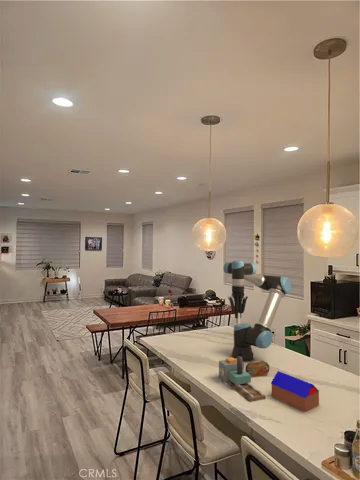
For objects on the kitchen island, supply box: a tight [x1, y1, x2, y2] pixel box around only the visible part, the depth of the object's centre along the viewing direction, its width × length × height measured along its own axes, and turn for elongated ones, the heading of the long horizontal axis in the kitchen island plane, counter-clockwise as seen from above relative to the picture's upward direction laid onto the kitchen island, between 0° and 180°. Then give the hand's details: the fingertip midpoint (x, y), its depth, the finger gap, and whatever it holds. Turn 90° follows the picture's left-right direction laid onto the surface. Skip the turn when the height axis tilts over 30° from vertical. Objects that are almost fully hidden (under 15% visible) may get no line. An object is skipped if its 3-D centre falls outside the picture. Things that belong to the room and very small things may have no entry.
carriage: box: [229, 356, 252, 385], centre depth 174 cm, size 8×9×13 cm
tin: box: [244, 360, 270, 378], centre depth 188 cm, size 15×3×8 cm, turn 105°
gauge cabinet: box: [218, 358, 245, 384], centre depth 183 cm, size 12×8×10 cm, turn 110°
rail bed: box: [228, 380, 267, 403], centre depth 168 cm, size 22×9×2 cm, turn 20°
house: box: [270, 370, 320, 413], centre depth 158 cm, size 12×20×12 cm, turn 35°
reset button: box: [225, 356, 237, 364], centre depth 183 cm, size 4×4×3 cm
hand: (238, 323), depth 196 cm, fingers closed
